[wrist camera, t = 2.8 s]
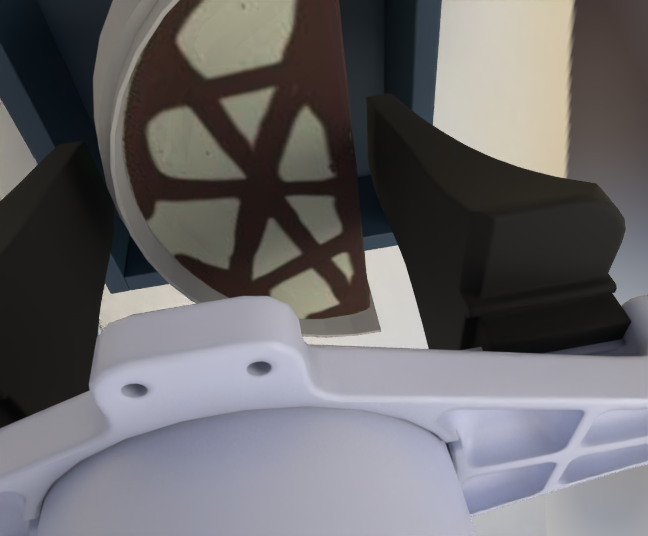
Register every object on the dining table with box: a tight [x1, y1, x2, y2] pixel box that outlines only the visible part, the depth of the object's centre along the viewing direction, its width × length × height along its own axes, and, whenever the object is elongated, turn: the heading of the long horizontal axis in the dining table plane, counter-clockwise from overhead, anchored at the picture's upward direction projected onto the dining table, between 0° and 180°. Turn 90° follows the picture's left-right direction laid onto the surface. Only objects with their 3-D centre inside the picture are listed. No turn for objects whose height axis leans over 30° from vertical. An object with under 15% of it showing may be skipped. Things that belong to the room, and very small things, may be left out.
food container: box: [93, 0, 381, 337], centre depth 16 cm, size 12×6×10 cm, turn 7°
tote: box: [0, 0, 442, 293], centre depth 18 cm, size 13×16×4 cm
